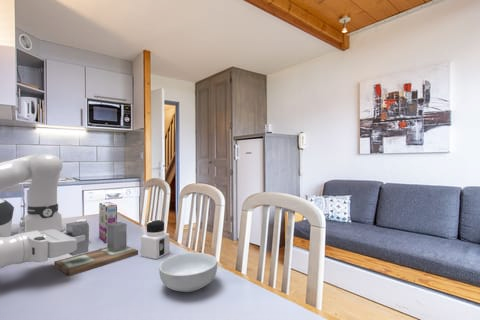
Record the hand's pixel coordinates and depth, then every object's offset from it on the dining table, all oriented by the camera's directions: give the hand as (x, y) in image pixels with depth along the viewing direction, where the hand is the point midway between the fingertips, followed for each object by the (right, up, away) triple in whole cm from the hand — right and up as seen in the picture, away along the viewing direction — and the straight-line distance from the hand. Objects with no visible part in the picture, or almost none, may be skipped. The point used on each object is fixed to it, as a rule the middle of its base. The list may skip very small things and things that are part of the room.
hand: (80, 235), depth 94 cm
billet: (+8, -9, +11) cm, 16 cm away
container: (+23, -11, +11) cm, 27 cm away
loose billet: (-1, -6, -1) cm, 6 cm away
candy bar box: (-5, -10, +29) cm, 31 cm away
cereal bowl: (+40, -11, -14) cm, 44 cm away
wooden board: (+4, -10, +5) cm, 12 cm away
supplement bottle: (-13, -10, +23) cm, 28 cm away
